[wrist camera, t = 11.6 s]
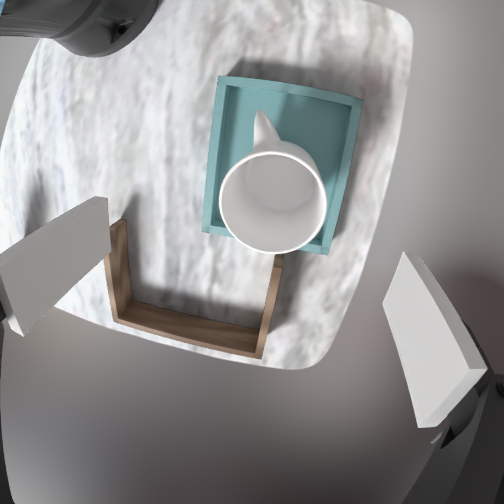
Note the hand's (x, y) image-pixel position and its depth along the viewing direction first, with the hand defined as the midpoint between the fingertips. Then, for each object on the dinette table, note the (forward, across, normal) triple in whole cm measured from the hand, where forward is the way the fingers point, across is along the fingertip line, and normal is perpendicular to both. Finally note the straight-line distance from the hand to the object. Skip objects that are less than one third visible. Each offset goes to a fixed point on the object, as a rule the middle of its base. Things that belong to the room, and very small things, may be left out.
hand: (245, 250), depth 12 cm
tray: (+23, 0, 0) cm, 23 cm away
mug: (+22, 0, 0) cm, 22 cm away
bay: (+23, -9, -18) cm, 30 cm away
